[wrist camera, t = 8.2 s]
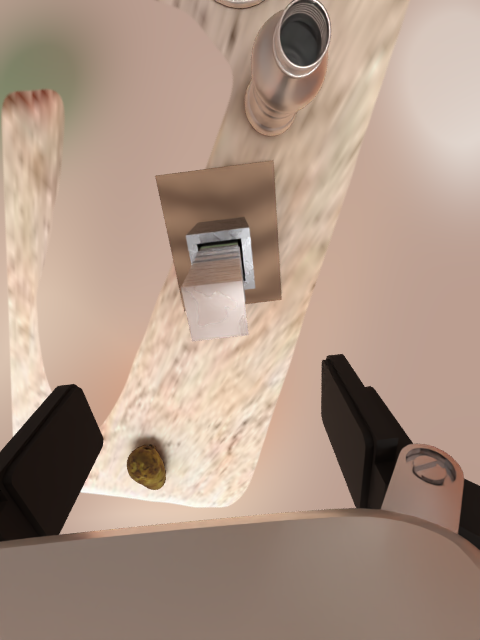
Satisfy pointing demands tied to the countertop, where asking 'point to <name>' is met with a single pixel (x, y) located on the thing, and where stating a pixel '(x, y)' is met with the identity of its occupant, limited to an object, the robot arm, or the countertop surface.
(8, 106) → the countertop surface
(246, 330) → the steel post
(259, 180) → the stand
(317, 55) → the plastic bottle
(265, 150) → the countertop surface
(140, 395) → the countertop surface
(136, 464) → the potato
